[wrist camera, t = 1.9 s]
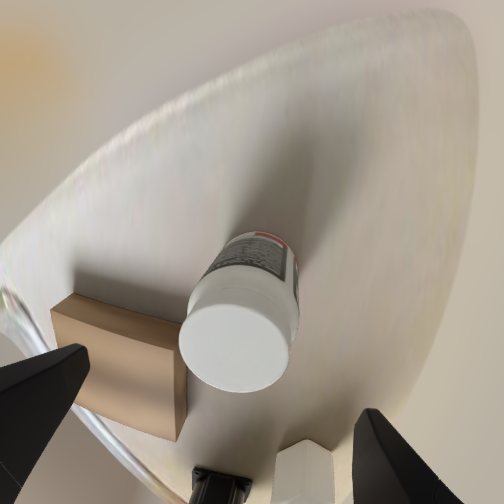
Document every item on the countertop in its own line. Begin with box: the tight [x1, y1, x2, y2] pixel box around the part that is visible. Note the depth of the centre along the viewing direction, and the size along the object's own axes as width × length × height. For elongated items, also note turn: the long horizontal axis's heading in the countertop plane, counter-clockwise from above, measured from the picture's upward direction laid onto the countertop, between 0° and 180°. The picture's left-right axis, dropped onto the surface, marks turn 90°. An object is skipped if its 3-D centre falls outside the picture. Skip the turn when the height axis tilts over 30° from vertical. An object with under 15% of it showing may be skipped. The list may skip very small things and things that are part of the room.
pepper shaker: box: [271, 440, 335, 504], centre depth 18 cm, size 4×4×10 cm
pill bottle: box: [179, 231, 299, 393], centre depth 14 cm, size 5×5×8 cm
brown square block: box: [50, 293, 187, 442], centre depth 21 cm, size 10×10×3 cm
